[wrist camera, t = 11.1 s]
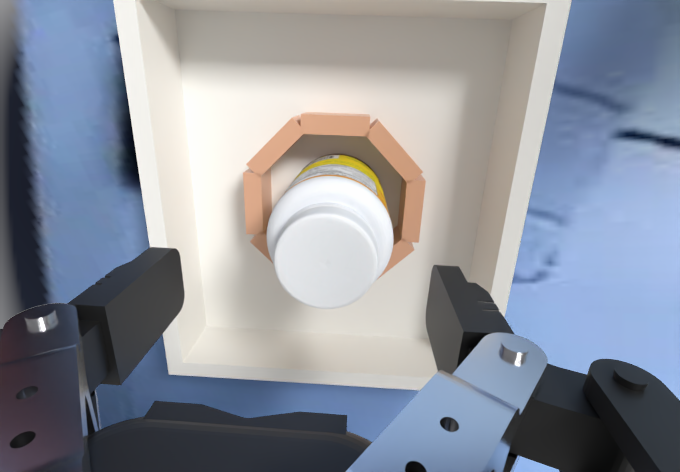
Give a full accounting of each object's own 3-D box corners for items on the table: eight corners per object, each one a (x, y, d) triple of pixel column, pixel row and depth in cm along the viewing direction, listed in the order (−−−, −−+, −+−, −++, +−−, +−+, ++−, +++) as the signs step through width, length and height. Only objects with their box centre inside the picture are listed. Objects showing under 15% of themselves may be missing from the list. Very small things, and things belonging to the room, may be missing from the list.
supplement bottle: (358, 252, 25) (357, 349, 16) (280, 215, 25) (229, 293, 15) (400, 176, 23) (427, 234, 14) (317, 134, 23) (285, 164, 13)
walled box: (163, -8, 21) (107, -37, 17) (527, 2, 21) (576, -24, 16) (199, 329, 29) (168, 374, 24) (466, 344, 28) (488, 394, 24)
